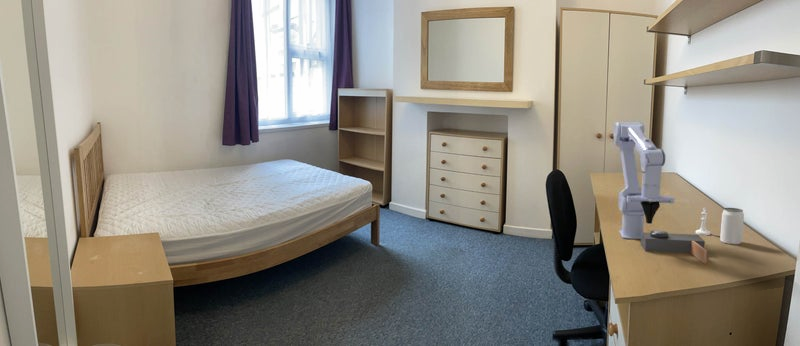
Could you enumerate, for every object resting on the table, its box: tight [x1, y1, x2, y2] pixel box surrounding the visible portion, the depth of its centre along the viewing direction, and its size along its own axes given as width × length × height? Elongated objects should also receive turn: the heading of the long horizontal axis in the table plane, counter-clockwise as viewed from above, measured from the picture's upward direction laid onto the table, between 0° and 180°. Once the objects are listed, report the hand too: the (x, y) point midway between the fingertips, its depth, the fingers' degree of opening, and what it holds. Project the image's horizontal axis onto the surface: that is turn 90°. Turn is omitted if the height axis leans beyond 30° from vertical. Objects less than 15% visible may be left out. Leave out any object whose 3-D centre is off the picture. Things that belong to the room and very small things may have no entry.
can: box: [719, 207, 745, 246], centre depth 177 cm, size 6×6×12 cm
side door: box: [690, 241, 709, 264], centre depth 162 cm, size 1×10×4 cm, turn 170°
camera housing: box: [640, 230, 706, 254], centre depth 172 cm, size 8×18×6 cm, turn 75°
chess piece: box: [695, 207, 711, 236], centre depth 188 cm, size 5×5×10 cm
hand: (648, 222), depth 172 cm, fingers closed
